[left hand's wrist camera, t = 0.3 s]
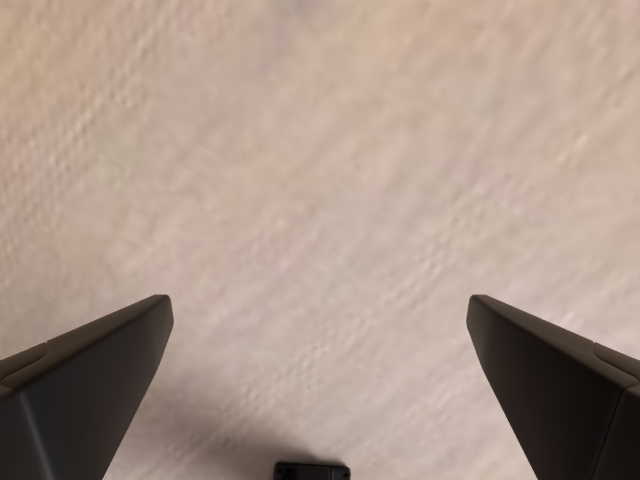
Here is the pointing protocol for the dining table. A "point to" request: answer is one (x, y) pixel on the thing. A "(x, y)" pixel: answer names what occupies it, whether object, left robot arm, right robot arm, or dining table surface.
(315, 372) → the dining table surface
